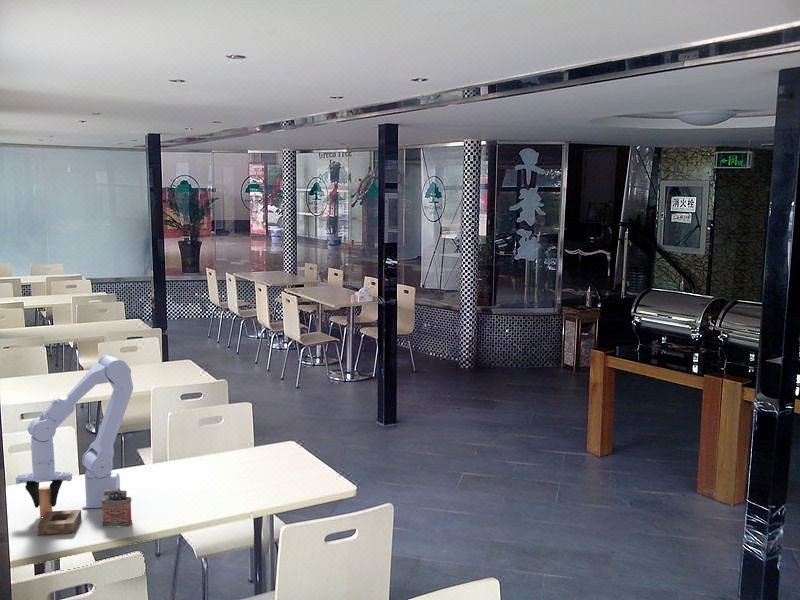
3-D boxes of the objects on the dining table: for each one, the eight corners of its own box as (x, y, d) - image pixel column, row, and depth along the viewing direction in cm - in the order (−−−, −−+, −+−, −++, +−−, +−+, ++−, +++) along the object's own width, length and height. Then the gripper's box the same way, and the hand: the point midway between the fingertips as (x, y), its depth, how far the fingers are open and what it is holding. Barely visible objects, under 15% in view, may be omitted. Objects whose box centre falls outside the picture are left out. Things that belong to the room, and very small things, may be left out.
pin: (53, 512, 219) (52, 486, 218) (50, 517, 216) (49, 490, 215) (41, 513, 219) (40, 486, 217) (38, 518, 215) (37, 491, 214)
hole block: (81, 519, 215) (80, 509, 214) (73, 533, 206) (73, 523, 206) (47, 521, 213) (46, 511, 213) (38, 535, 204) (37, 525, 204)
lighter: (133, 521, 214) (132, 487, 213) (130, 526, 211) (128, 492, 209) (104, 521, 214) (103, 487, 212) (100, 526, 210) (99, 492, 209)
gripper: (11, 466, 210) (14, 513, 212) (66, 463, 212) (69, 509, 214) (19, 457, 217) (21, 502, 219) (73, 455, 219) (75, 500, 221)
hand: (45, 505), depth 217 cm, fingers open, 4 cm apart
